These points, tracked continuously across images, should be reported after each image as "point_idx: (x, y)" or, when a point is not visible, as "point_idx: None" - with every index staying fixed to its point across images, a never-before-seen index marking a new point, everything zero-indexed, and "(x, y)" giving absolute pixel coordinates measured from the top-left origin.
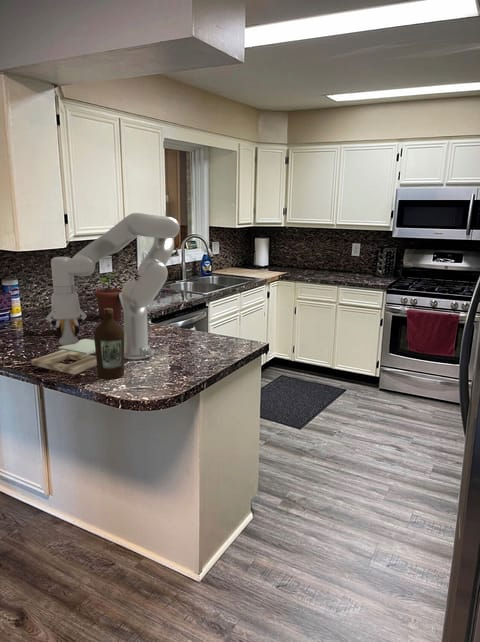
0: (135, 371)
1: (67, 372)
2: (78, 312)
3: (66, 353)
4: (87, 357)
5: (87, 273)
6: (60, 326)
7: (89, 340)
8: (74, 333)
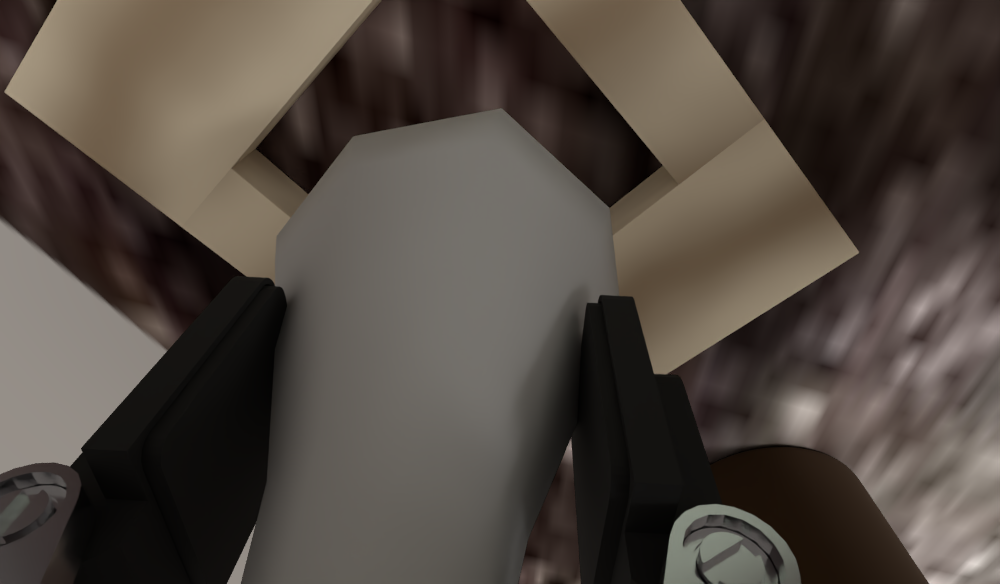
0: (961, 493)
1: None
2: None
3: None
4: (683, 184)
5: None
6: (168, 500)
7: None
8: (566, 432)
